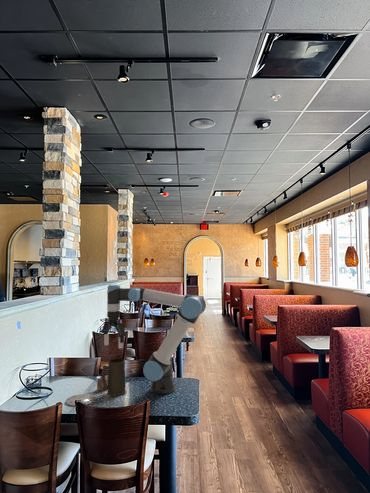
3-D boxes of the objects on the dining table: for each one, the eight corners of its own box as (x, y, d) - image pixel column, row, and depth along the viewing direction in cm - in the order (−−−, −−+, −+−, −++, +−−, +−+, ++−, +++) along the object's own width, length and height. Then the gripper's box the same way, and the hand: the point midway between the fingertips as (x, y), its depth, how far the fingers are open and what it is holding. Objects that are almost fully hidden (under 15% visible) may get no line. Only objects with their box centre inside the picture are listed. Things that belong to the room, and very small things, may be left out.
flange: (101, 400, 215) (101, 398, 215) (76, 408, 203) (76, 406, 203) (85, 394, 226) (85, 392, 226) (60, 401, 213) (60, 399, 214)
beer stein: (118, 388, 235) (116, 356, 235) (130, 392, 228) (128, 359, 228) (98, 397, 223) (96, 363, 223) (110, 401, 216) (108, 366, 216)
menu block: (113, 387, 238) (113, 376, 238) (103, 391, 230) (103, 379, 230) (107, 386, 240) (107, 375, 241) (97, 390, 233) (97, 378, 233)
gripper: (132, 311, 222) (132, 348, 221) (106, 308, 239) (105, 342, 238) (122, 312, 217) (122, 350, 216) (96, 309, 233) (95, 344, 232)
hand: (113, 346), depth 227 cm, fingers open, 13 cm apart
